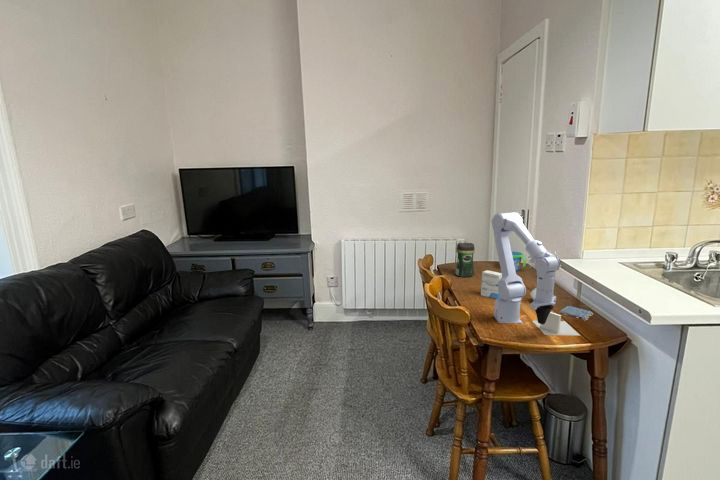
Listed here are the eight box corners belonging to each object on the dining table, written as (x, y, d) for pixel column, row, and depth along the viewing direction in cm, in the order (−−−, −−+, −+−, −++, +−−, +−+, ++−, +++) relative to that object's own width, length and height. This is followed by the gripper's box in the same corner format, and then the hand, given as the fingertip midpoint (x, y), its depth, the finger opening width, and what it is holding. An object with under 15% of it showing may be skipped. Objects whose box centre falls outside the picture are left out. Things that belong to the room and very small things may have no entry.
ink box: (501, 296, 191) (503, 273, 188) (497, 299, 187) (499, 275, 185) (485, 292, 196) (486, 269, 194) (480, 295, 193) (481, 271, 190)
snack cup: (494, 268, 238) (496, 251, 236) (506, 265, 244) (507, 249, 242) (517, 274, 225) (518, 257, 223) (529, 271, 231) (530, 254, 229)
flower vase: (544, 295, 193) (549, 244, 188) (563, 309, 175) (569, 254, 170) (517, 295, 193) (521, 244, 188) (533, 309, 175) (539, 254, 170)
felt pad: (544, 335, 150) (544, 334, 150) (531, 321, 163) (532, 320, 162) (580, 336, 149) (580, 335, 149) (564, 322, 162) (564, 321, 162)
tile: (557, 333, 151) (559, 315, 149) (539, 327, 156) (541, 310, 155) (559, 332, 152) (561, 315, 150) (541, 326, 157) (543, 309, 156)
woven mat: (558, 315, 170) (558, 311, 170) (567, 308, 177) (568, 304, 177) (585, 322, 163) (585, 318, 162) (593, 315, 170) (594, 311, 169)
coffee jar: (470, 273, 228) (472, 241, 224) (475, 277, 221) (477, 244, 217) (453, 273, 228) (455, 241, 224) (457, 277, 220) (459, 244, 216)
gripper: (545, 295, 139) (541, 332, 142) (565, 287, 147) (561, 321, 150) (526, 290, 144) (523, 325, 147) (547, 282, 153) (543, 315, 156)
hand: (541, 323), depth 149 cm, fingers closed
